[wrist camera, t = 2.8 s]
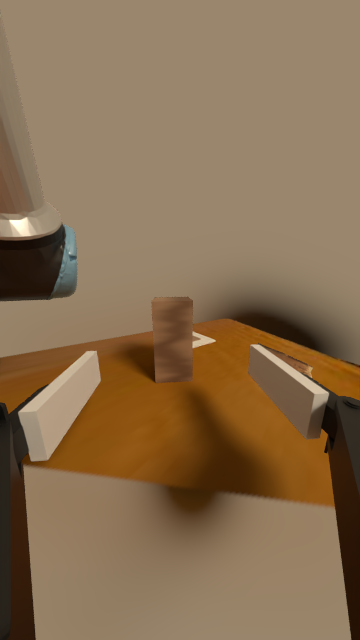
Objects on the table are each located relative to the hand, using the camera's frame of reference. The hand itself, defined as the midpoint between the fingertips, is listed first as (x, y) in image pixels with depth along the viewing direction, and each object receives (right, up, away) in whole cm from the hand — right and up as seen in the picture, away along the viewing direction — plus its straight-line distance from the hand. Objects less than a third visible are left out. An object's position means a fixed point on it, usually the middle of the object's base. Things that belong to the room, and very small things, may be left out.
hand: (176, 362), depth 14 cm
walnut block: (-1, -4, +11) cm, 12 cm away
